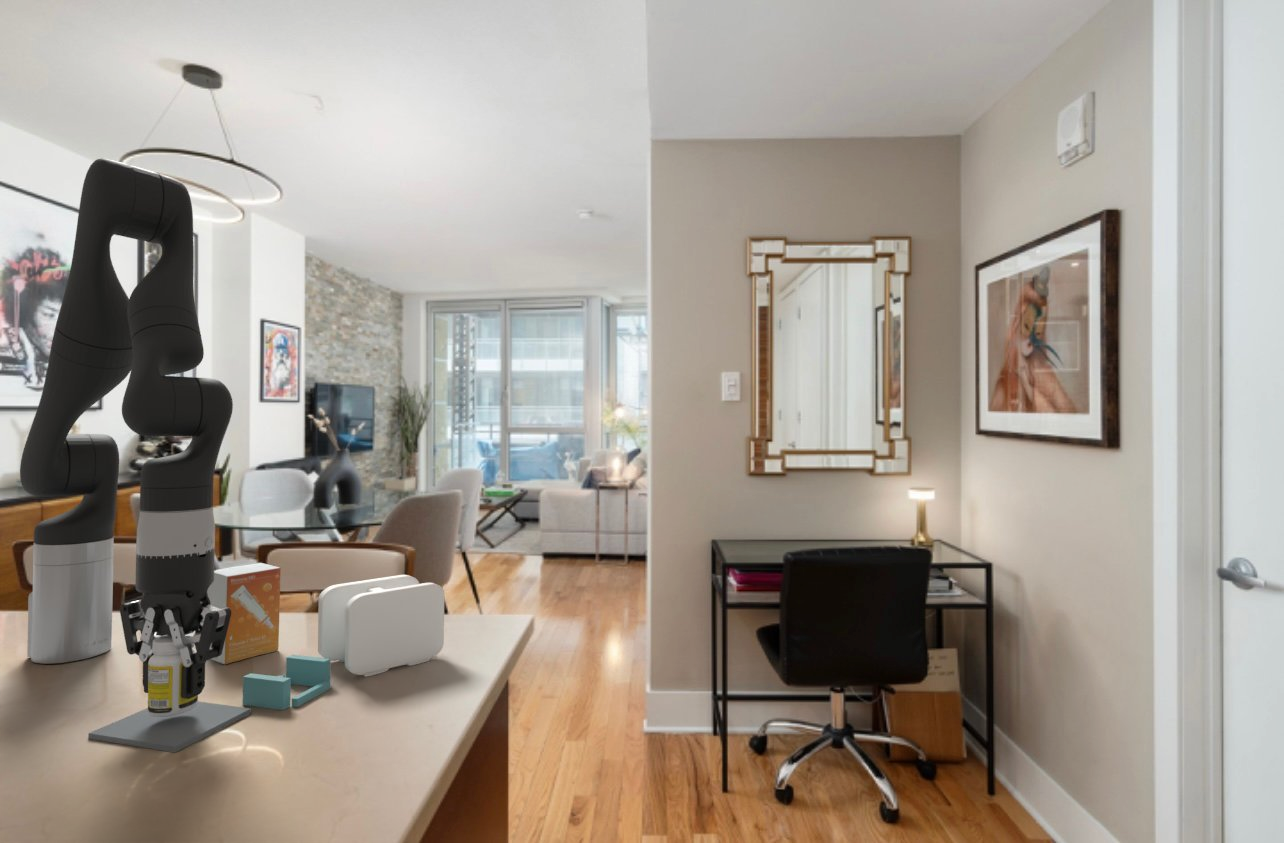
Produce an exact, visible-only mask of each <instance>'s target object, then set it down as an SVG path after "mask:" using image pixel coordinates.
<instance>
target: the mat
mask: <svg viewBox="0 0 1284 843" xmlns="http://www.w3.org/2000/svg"><path fill="white" fill-rule="evenodd" d="M251 714H252V708H251V707H250V708H249V707H243V706H237V705H236V706H234V705H229V704H220V703H212V702H205V701H199V700H198V702H197V705H196V706H195V707H194V708H193V709H191V710H189V711H187V712H184V713H181V714H177V715H173V716H168V717H154V716H151V715H150V714H149V713H148V707H147V708H144V709H143V710H142V709H141V710H139V711H138V712H135V713H132V714H129V715H128V716H126V717H123V718H121V719H118V720H116V721H114V722H112V723H109V724H107V725H105V726H104V725H103V727H100V728H97V729H95V730H93V731H90V732H88V739H89V740H95V741H100V742H102V741H103V742H109V743H115V744H119V745H120V744H121V745H127V746H132V747H133V746H134V747H139V748H144V749H145V748H146V749H152V750H158V751H165V752H170V753H171V752H172V753H177V752H180V751H181V750H183V749H185V748H187V747H188V746H191V745H193V744H195V743H196V742H199V741H200V740H202V739H204V738H206V737H208V736H210V735H213V734H214V733H215V732H218V731H220V730H222V729H223V727H224V726H226V727H227V725H228V726H229V725H231V724H233V723H235V722H237V721H239V720H241V719H243V718H245V717H247V716H249V715H251ZM221 728H222V729H221ZM224 728H225V727H224ZM217 730H218V731H217Z"/></svg>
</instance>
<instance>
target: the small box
mask: <svg viewBox="0 0 1284 843" xmlns="http://www.w3.org/2000/svg"><path fill="white" fill-rule="evenodd" d="M207 593H208V597H209V599H210V602H211V605H212V606H214V607H216V608H219V609H222V608H226V607H228V608H230V609H231V618H230V622H229V626H228V630H227V634H226V638H225V642H224V646H223V650H222V654H221V655H220V656H218V657H215V658H212V659H211V660H212V661H214V662H217V663H219V664H223V665H227V664H231V663H235V662H238V661H241V660H246V659H249V658H253V657H257V656H261V655H265V654H268V653H270V654H271V653H274V652H278V650H279V639H280V638H279V635H280V610H281V609H280V604H281V603H280V602H281V601H280V599H281V567H279V566H275V565H272V564H267V563H263V562H257V563H252V564H245V565H237V566H230V567H226V568H219V569H214V581H213V583H212V584H211V585H210V586H209V588H208V591H207ZM211 646H212V643H211V645H210V648H211Z"/></svg>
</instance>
